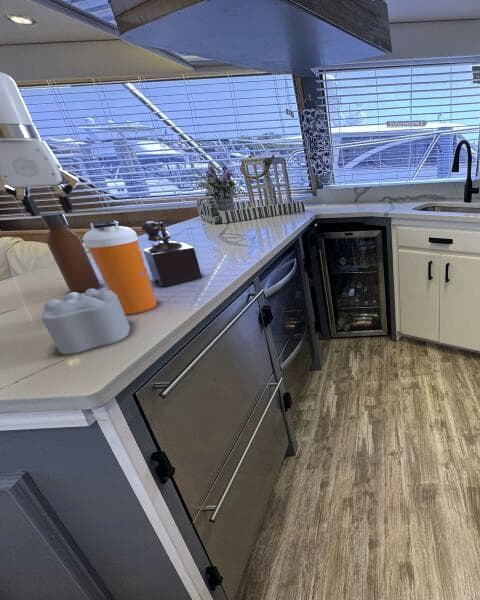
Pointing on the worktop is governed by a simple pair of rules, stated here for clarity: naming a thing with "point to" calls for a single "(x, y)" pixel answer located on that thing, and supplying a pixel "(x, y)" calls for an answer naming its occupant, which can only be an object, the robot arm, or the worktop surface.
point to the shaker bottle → (121, 265)
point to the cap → (54, 220)
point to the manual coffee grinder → (169, 257)
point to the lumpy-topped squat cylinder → (85, 320)
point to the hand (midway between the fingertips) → (52, 213)
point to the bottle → (72, 260)
